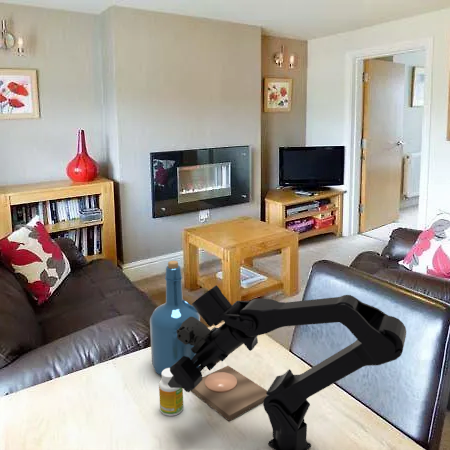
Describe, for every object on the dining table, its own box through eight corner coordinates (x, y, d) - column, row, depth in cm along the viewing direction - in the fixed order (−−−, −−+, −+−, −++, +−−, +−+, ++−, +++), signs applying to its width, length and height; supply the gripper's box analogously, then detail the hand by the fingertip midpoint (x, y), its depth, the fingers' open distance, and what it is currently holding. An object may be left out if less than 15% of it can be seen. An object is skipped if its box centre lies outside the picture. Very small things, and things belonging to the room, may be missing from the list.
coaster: (243, 383, 115) (243, 382, 115) (218, 396, 110) (218, 394, 110) (223, 370, 121) (223, 368, 120) (198, 381, 116) (198, 380, 116)
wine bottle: (169, 386, 116) (164, 274, 109) (143, 364, 126) (137, 260, 119) (212, 367, 125) (210, 262, 117) (184, 348, 135) (181, 250, 127)
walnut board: (270, 398, 111) (270, 392, 111) (229, 421, 103) (229, 415, 103) (228, 370, 123) (228, 365, 123) (188, 389, 115) (188, 383, 115)
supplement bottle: (179, 418, 105) (178, 380, 102) (156, 415, 106) (155, 377, 103) (186, 403, 110) (184, 367, 107) (164, 400, 111) (162, 364, 108)
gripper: (219, 294, 106) (179, 329, 113) (176, 329, 90) (133, 366, 97) (250, 333, 105) (207, 365, 112) (213, 375, 88) (166, 409, 96)
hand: (180, 374), depth 104 cm, fingers open, 9 cm apart
